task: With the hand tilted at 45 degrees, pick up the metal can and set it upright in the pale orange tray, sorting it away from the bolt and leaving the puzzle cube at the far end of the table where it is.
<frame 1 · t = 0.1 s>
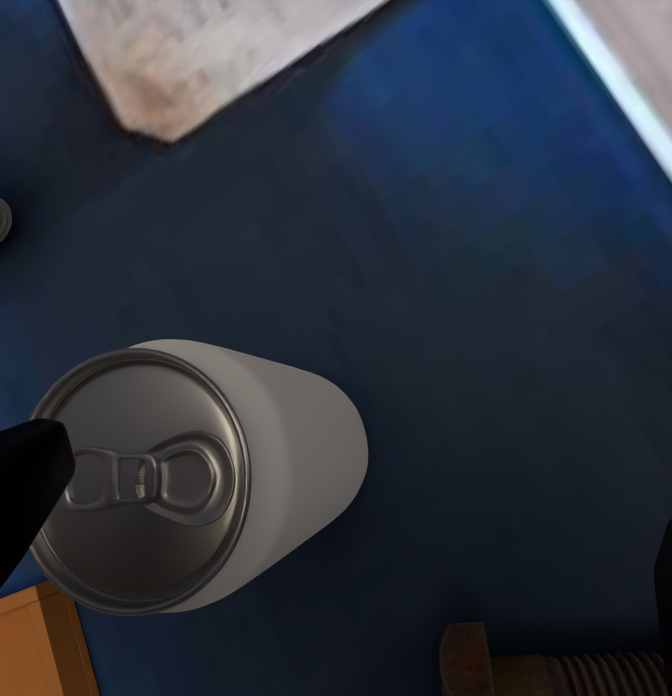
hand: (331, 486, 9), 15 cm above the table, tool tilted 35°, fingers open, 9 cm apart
can: (293, 449, 24), on the table
light bulb: (4, 228, 29), on the table
bolt: (671, 677, 21), on the table
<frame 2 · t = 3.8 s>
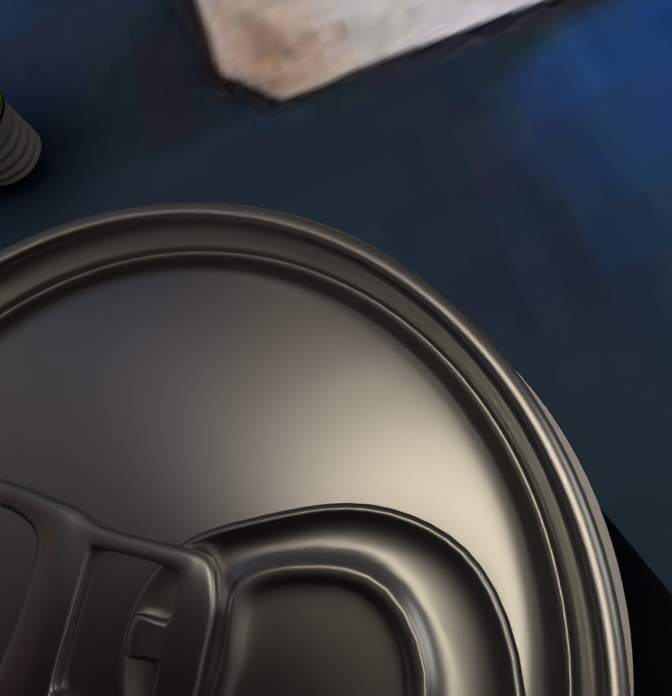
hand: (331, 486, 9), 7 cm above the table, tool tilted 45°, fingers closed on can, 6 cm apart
can: (376, 572, 15), on the table, touching gripper
light bulb: (26, 171, 21), on the table
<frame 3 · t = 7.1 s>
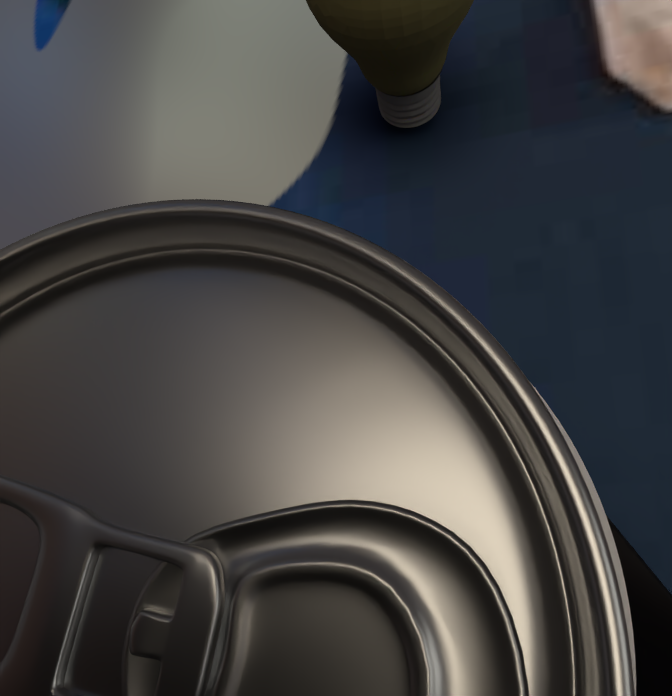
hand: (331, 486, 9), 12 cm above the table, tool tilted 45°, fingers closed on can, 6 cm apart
can: (376, 571, 15), point 5 cm above the table, touching gripper
light bulb: (410, 117, 24), on the table
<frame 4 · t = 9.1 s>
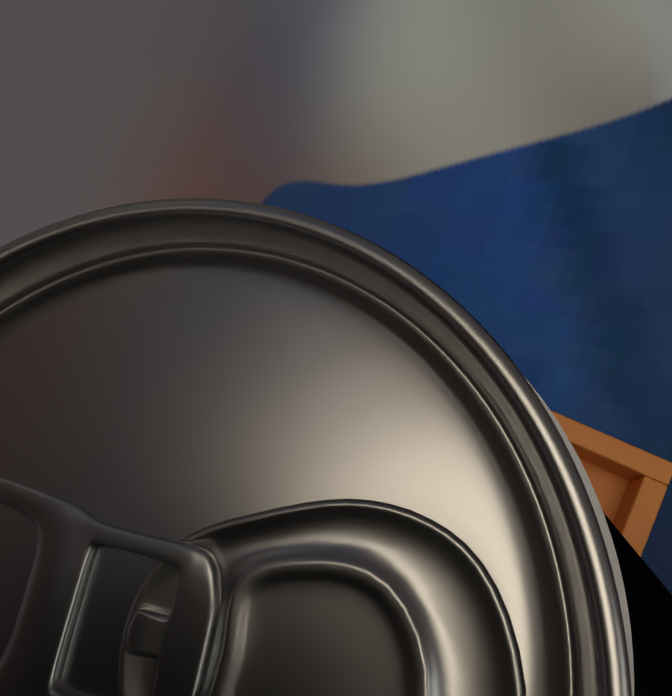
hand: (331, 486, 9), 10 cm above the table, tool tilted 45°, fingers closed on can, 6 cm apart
tray: (392, 558, 18), on the table
can: (376, 571, 15), point 3 cm above the table, touching gripper
when the fingers open (7 cm above the table, at t = 10.5 s): can stays where it is, resting on tray.
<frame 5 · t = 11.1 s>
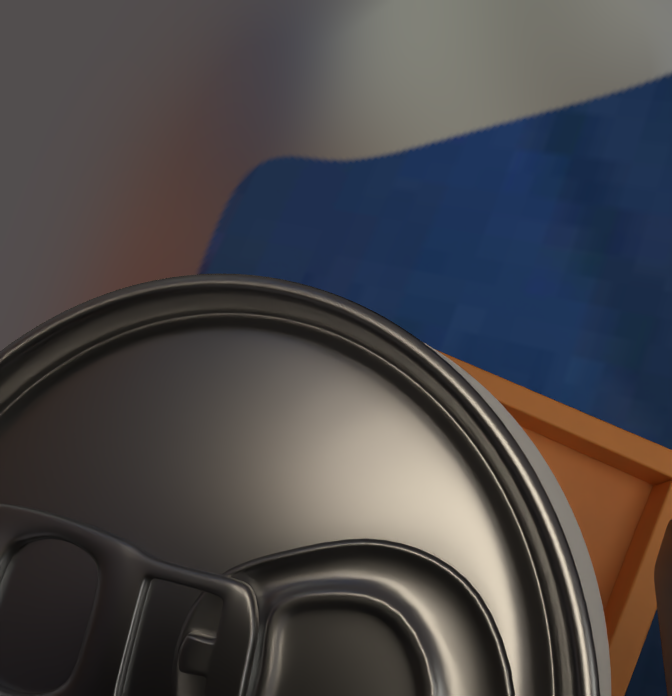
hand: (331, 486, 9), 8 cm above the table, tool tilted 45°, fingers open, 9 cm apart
tray: (382, 572, 16), on the table
can: (380, 579, 15), resting on tray
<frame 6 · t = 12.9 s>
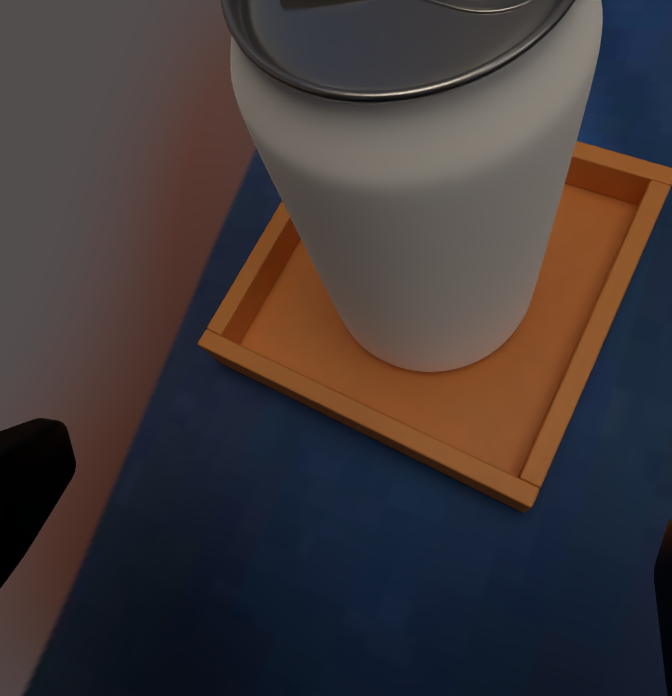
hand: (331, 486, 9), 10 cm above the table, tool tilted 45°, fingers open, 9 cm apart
tray: (432, 286, 21), on the table
can: (431, 286, 20), resting on tray
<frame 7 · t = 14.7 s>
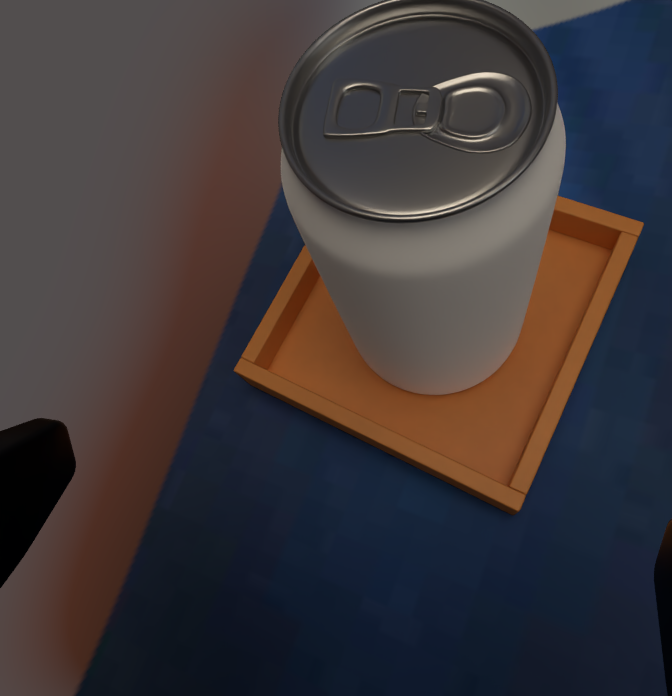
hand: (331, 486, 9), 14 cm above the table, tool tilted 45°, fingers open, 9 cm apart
tray: (435, 318, 24), on the table
can: (434, 319, 23), resting on tray
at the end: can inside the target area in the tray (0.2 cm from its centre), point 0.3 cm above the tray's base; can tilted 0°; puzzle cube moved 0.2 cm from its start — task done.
